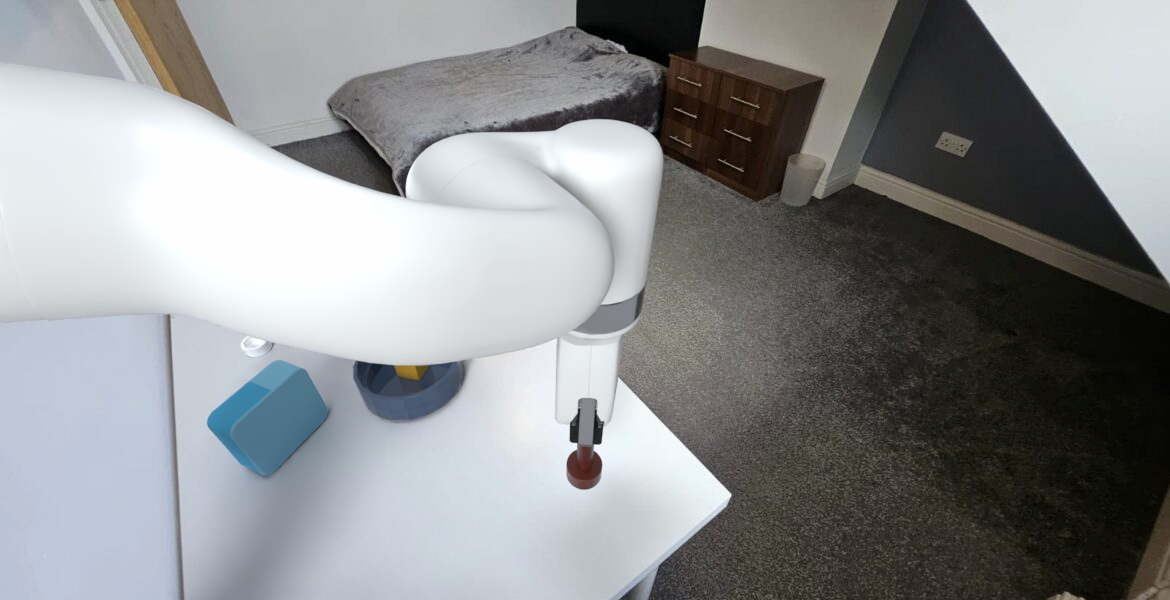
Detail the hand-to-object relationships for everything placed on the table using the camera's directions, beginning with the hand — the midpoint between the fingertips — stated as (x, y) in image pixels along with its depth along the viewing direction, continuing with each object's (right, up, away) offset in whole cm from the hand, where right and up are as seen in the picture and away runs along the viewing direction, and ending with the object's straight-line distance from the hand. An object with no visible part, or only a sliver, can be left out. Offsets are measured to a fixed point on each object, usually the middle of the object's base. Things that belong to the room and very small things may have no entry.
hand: (586, 429), depth 48 cm
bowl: (-29, -1, +32) cm, 43 cm away
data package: (-45, -8, +23) cm, 51 cm away
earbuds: (-48, +7, +40) cm, 63 cm away
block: (-29, +1, +33) cm, 44 cm away
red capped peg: (0, -7, +6) cm, 9 cm away
